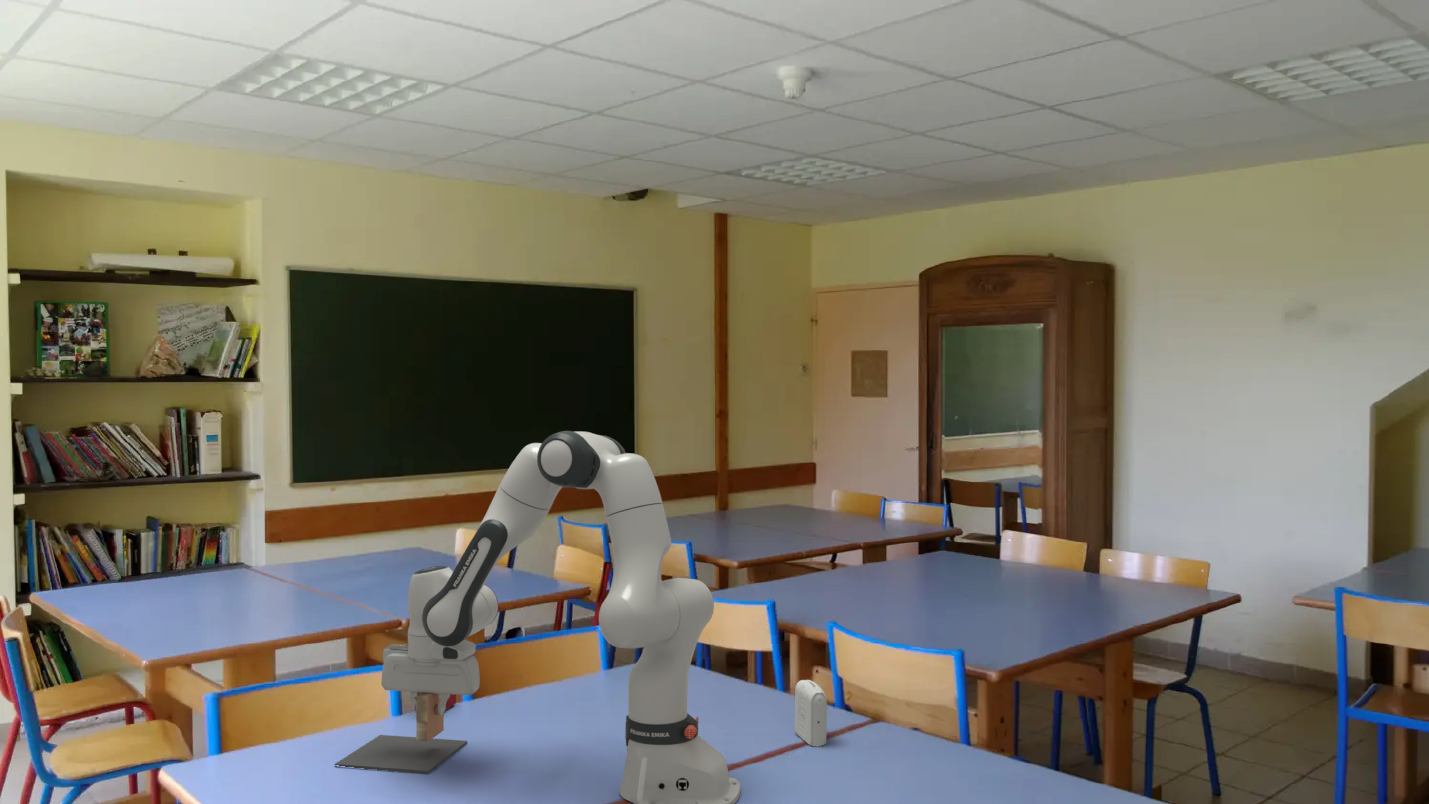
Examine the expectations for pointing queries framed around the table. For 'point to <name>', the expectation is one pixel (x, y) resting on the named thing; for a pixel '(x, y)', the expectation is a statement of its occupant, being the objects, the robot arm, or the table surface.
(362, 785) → the table surface
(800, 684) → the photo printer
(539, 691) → the table surface
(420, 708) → the tile
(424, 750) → the mat
